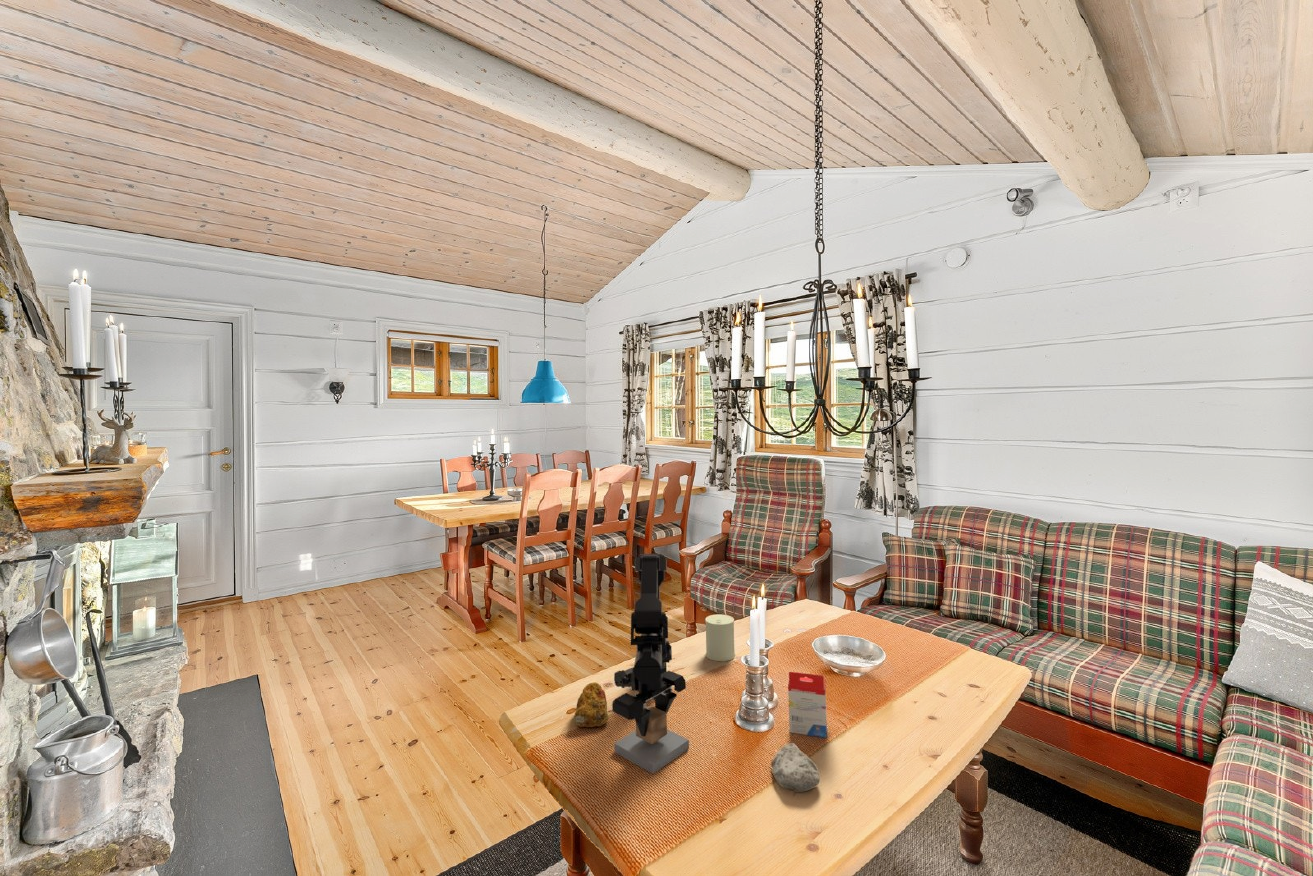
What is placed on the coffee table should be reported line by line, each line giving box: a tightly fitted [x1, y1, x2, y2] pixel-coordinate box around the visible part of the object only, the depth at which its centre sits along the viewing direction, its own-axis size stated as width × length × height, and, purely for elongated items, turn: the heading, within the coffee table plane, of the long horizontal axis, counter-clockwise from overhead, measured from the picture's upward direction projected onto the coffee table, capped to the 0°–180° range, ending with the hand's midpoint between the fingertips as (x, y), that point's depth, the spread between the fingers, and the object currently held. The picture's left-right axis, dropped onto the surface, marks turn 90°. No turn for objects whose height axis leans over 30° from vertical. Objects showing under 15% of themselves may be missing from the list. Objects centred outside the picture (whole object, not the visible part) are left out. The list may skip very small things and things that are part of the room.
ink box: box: [787, 671, 828, 739], centre depth 131 cm, size 8×5×15 cm, turn 71°
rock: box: [573, 682, 609, 728], centre depth 139 cm, size 11×8×10 cm
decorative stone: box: [770, 742, 821, 793], centre depth 114 cm, size 12×11×5 cm
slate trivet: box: [613, 728, 690, 775], centre depth 124 cm, size 12×12×2 cm
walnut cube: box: [635, 705, 668, 744], centre depth 124 cm, size 5×5×5 cm
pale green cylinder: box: [705, 614, 736, 662], centre depth 174 cm, size 9×9×12 cm
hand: (651, 730), depth 124 cm, fingers closed on walnut cube, 5 cm apart
